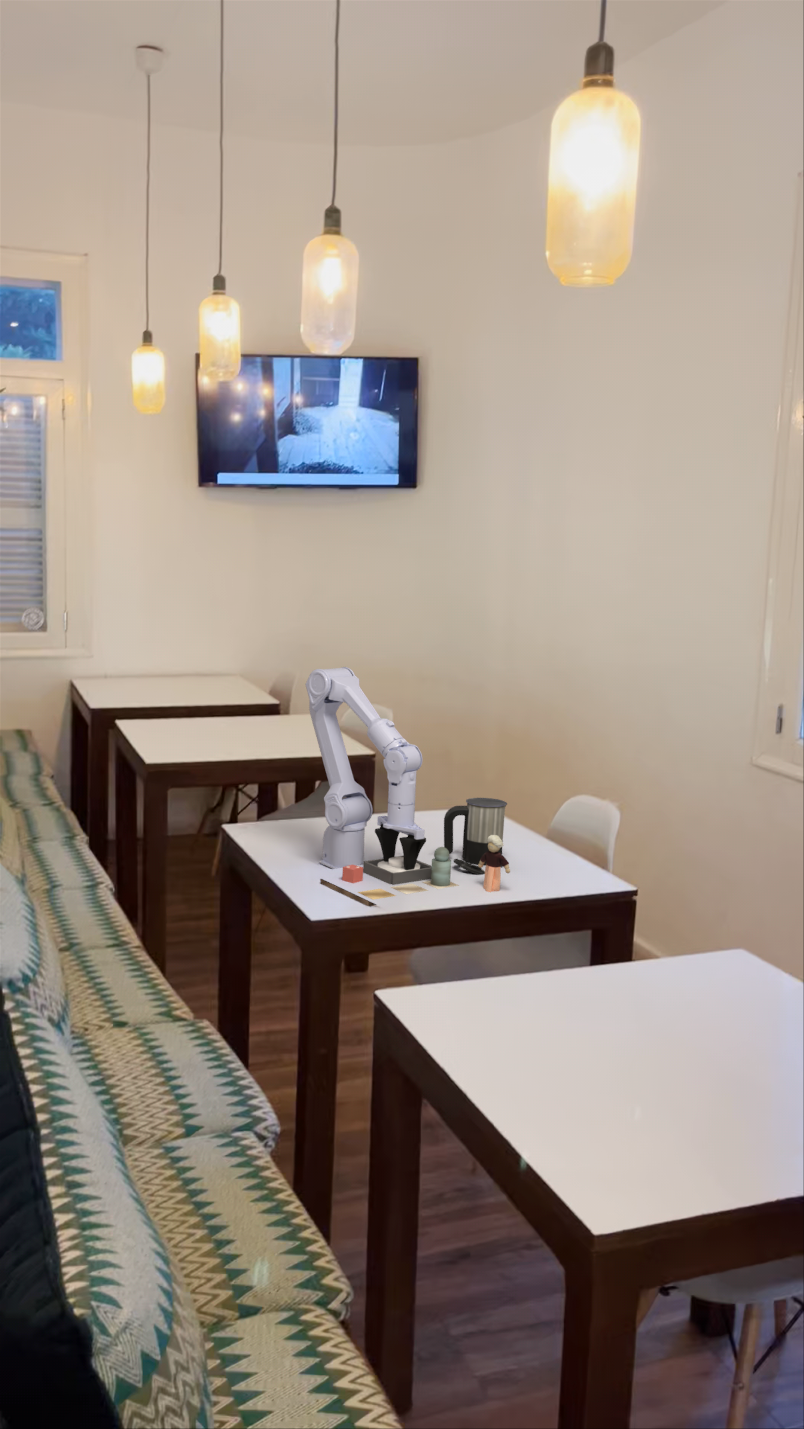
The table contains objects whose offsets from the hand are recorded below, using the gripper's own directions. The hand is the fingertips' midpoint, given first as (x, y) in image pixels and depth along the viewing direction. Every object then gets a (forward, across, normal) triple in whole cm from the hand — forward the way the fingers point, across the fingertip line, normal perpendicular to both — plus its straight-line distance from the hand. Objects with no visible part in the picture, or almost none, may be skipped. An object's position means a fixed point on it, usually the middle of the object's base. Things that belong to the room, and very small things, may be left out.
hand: (398, 865), depth 253 cm
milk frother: (+4, +1, +21) cm, 21 cm away
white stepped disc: (+2, 0, 0) cm, 2 cm away
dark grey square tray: (+3, 0, 0) cm, 3 cm away
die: (+3, -1, -11) cm, 12 cm away
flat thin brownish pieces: (+3, +4, -4) cm, 6 cm away
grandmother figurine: (+3, +18, +11) cm, 21 cm away
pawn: (+2, +10, +4) cm, 11 cm away
